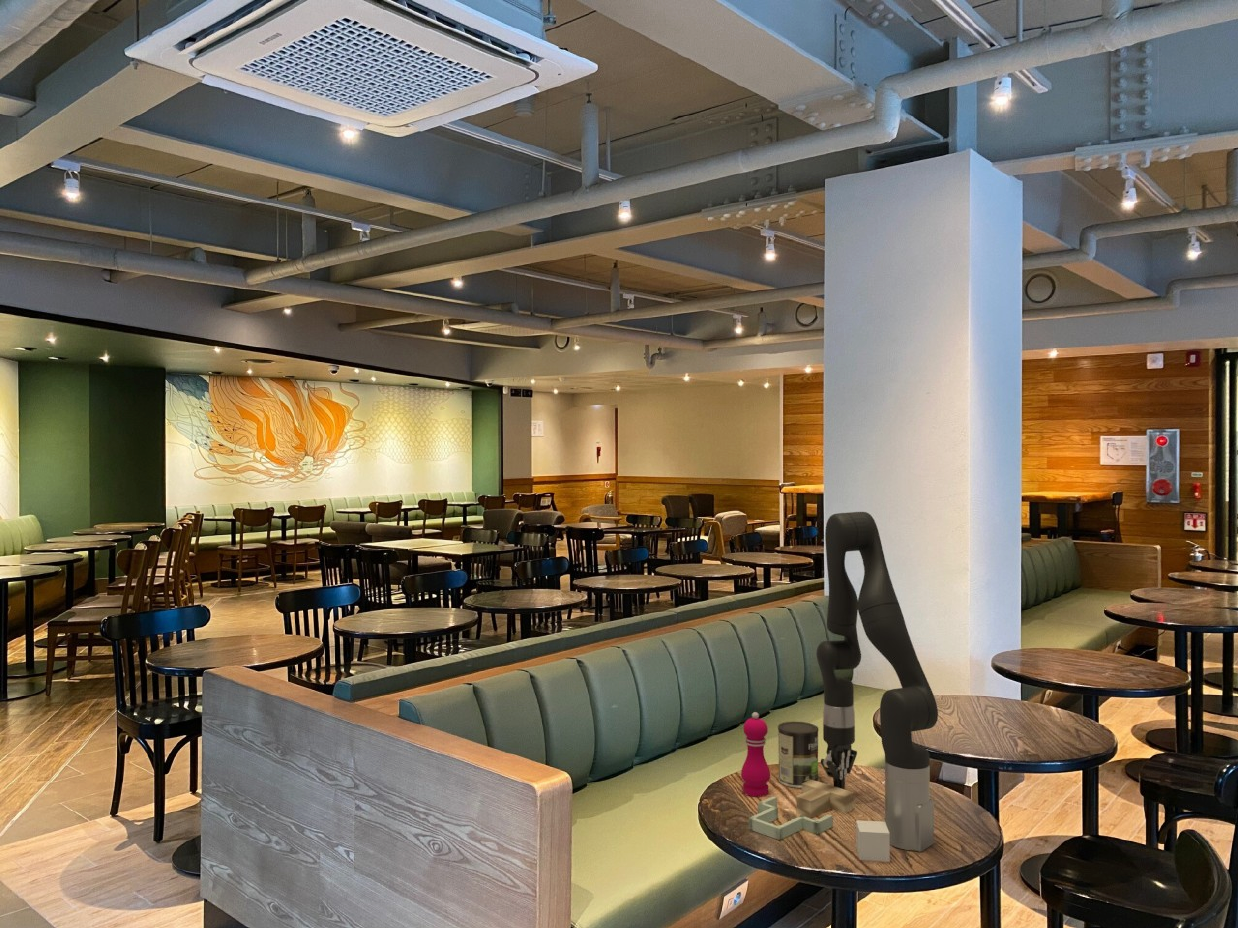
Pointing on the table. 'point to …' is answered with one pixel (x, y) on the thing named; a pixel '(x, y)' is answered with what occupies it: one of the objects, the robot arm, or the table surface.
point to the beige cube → (872, 841)
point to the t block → (823, 799)
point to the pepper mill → (755, 758)
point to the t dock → (770, 813)
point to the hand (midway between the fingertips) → (839, 792)
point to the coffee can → (797, 753)
